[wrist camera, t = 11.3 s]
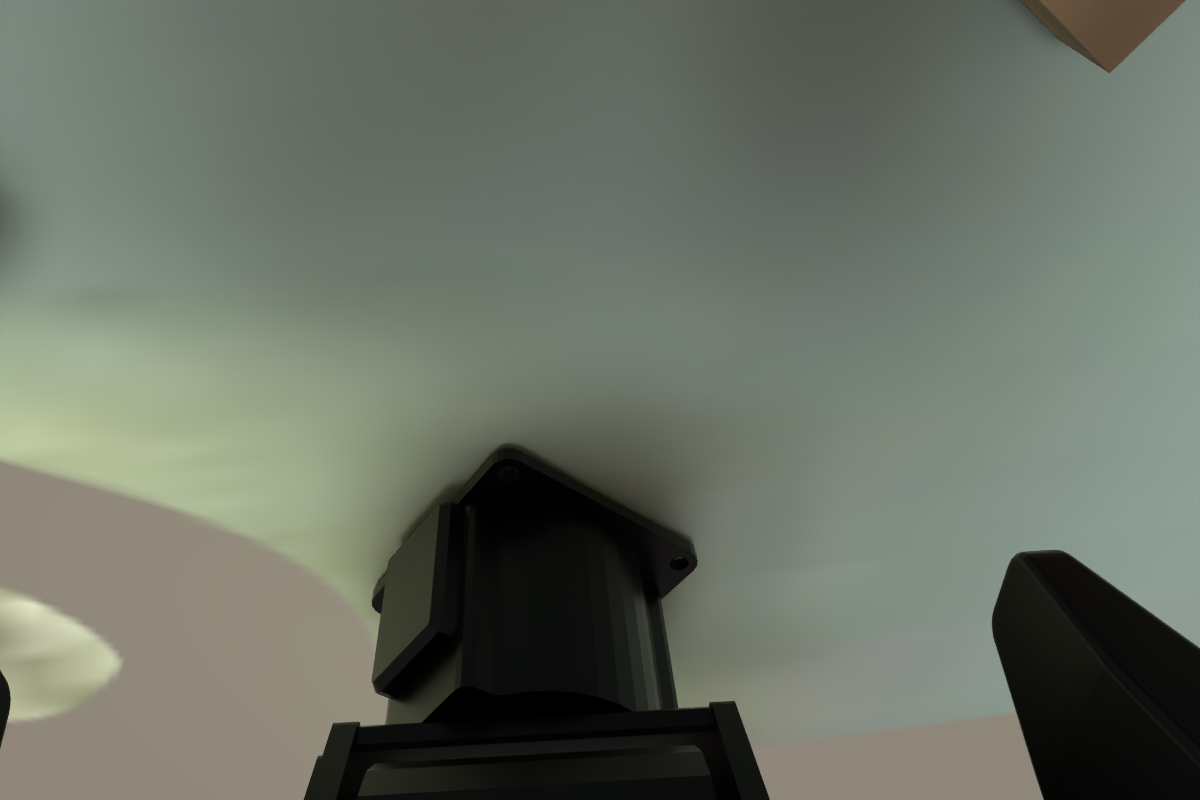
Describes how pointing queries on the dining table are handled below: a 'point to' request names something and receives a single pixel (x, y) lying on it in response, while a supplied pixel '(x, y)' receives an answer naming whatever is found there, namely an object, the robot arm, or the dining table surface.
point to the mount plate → (1102, 25)
